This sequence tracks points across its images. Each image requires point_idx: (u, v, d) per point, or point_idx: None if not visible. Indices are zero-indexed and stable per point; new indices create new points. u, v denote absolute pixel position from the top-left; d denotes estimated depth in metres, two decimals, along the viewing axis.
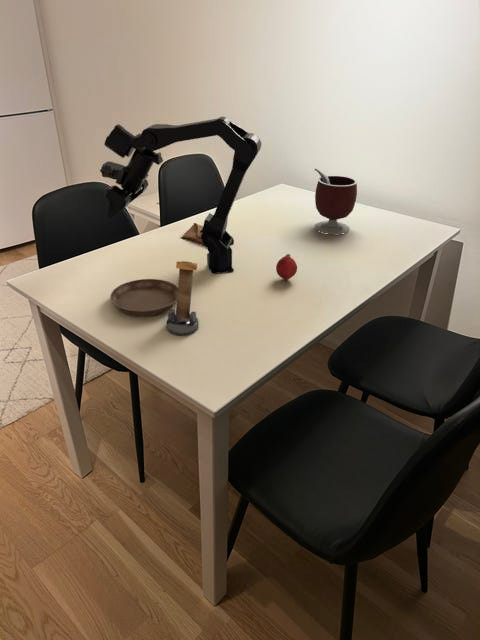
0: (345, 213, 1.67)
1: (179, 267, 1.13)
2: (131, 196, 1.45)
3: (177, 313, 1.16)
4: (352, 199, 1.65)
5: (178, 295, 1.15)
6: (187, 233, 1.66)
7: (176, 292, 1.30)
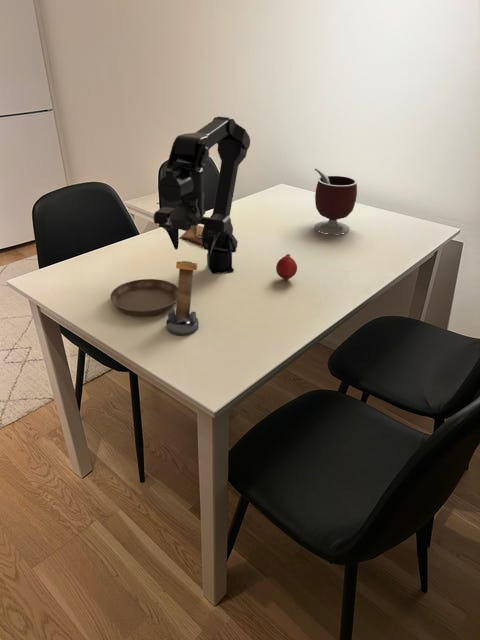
0: (345, 213, 1.67)
1: (179, 267, 1.13)
2: (176, 230, 1.27)
3: (177, 313, 1.16)
4: (352, 199, 1.65)
5: (178, 295, 1.15)
6: (186, 233, 1.65)
7: (176, 292, 1.30)
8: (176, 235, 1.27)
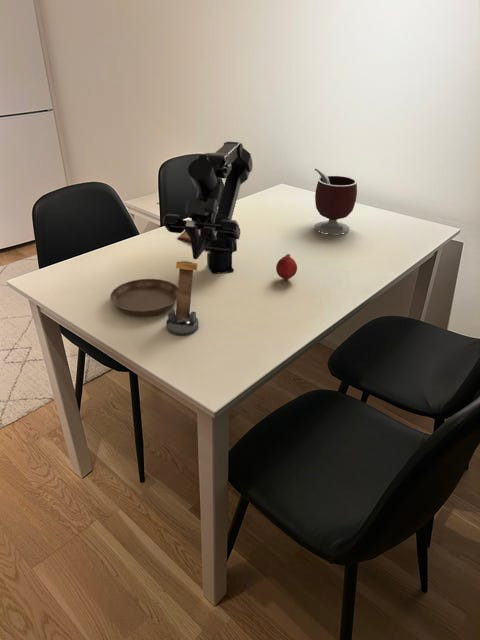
0: (345, 213, 1.67)
1: (179, 267, 1.13)
2: (198, 242, 1.23)
3: (177, 313, 1.16)
4: (352, 199, 1.65)
5: (178, 295, 1.15)
6: (183, 234, 1.65)
7: (176, 292, 1.30)
8: None
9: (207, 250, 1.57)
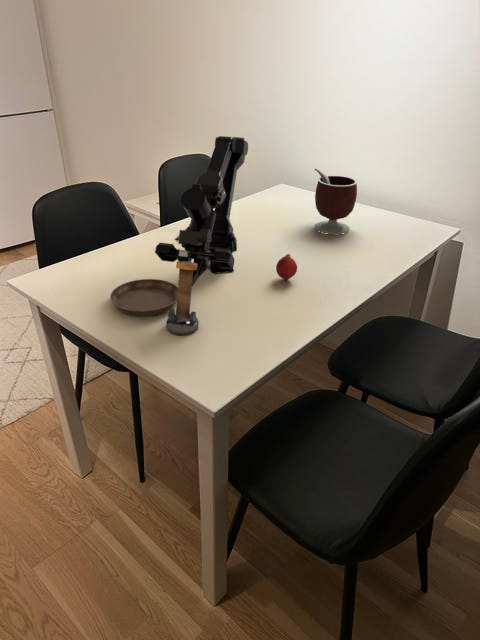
0: (345, 213, 1.67)
1: (179, 267, 1.13)
2: None
3: (177, 313, 1.16)
4: (352, 199, 1.65)
5: (178, 295, 1.15)
6: None
7: (176, 292, 1.30)
8: None
9: None
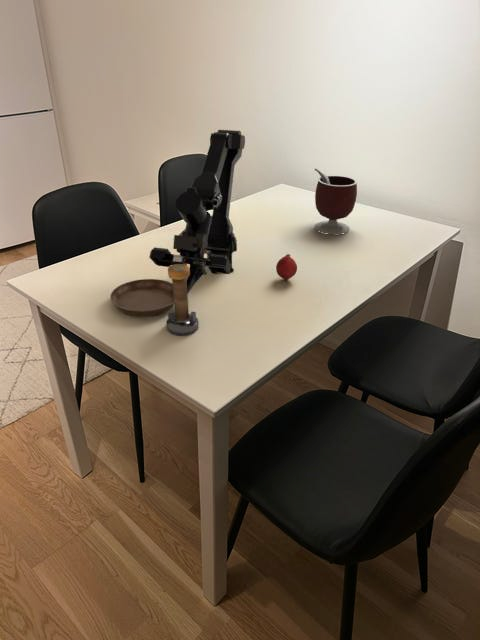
0: (345, 213, 1.67)
1: (171, 277, 1.09)
2: None
3: (176, 316, 1.15)
4: (352, 199, 1.65)
5: (174, 300, 1.13)
6: (180, 235, 1.64)
7: None
8: None
9: None
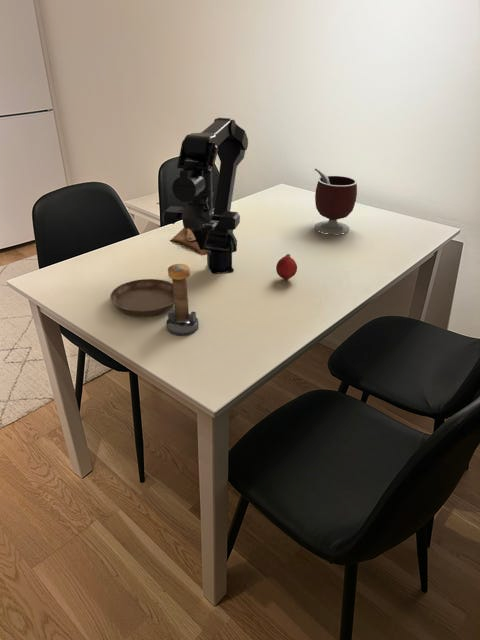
0: (345, 213, 1.67)
1: (171, 277, 1.09)
2: (201, 230, 1.27)
3: (176, 316, 1.15)
4: (352, 199, 1.65)
5: (174, 300, 1.13)
6: (177, 236, 1.63)
7: None
8: (201, 236, 1.27)
9: None
